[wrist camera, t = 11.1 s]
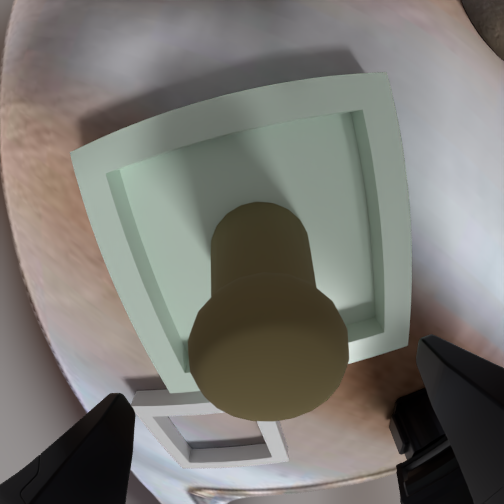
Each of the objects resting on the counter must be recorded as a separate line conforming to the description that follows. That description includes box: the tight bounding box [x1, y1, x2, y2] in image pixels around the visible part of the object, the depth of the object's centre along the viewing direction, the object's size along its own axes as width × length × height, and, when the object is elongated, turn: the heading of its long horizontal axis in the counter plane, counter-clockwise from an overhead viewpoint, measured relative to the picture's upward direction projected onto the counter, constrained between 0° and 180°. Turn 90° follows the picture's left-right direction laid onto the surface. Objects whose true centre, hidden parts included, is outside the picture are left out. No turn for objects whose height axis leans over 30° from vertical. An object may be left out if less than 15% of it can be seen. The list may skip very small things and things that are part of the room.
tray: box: [70, 72, 412, 393], centre depth 17 cm, size 18×18×2 cm
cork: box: [188, 202, 349, 422], centre depth 13 cm, size 6×6×11 cm
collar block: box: [131, 389, 289, 468], centre depth 24 cm, size 12×12×2 cm
